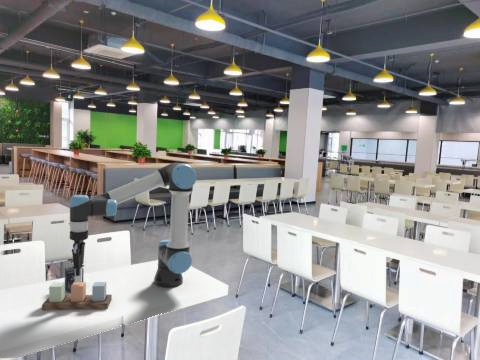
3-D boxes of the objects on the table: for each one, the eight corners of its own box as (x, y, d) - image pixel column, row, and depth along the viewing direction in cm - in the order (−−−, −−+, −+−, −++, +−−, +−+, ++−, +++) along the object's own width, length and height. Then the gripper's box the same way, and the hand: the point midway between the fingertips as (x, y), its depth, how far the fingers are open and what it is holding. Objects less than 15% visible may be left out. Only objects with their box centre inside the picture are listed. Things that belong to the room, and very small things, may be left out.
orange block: (85, 297, 171) (85, 282, 170) (82, 301, 166) (82, 286, 165) (74, 297, 170) (74, 282, 170) (70, 301, 165) (71, 286, 165)
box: (66, 292, 181) (66, 271, 181) (64, 288, 186) (64, 267, 185) (83, 289, 186) (83, 268, 185) (81, 285, 190) (81, 265, 190)
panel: (111, 299, 175) (111, 294, 175) (107, 308, 166) (107, 303, 165) (50, 300, 171) (50, 295, 171) (42, 310, 161) (42, 304, 161)
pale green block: (64, 297, 170) (64, 282, 169) (61, 301, 165) (61, 286, 164) (53, 297, 169) (53, 282, 168) (49, 302, 164) (49, 286, 163)
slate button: (106, 296, 172) (106, 282, 172) (103, 301, 167) (104, 286, 167) (94, 296, 172) (94, 282, 171) (92, 301, 167) (92, 286, 166)
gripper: (74, 226, 171) (73, 276, 173) (65, 233, 158) (64, 287, 160) (91, 227, 172) (90, 276, 174) (84, 233, 159) (83, 287, 162)
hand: (78, 281), depth 167 cm, fingers closed
